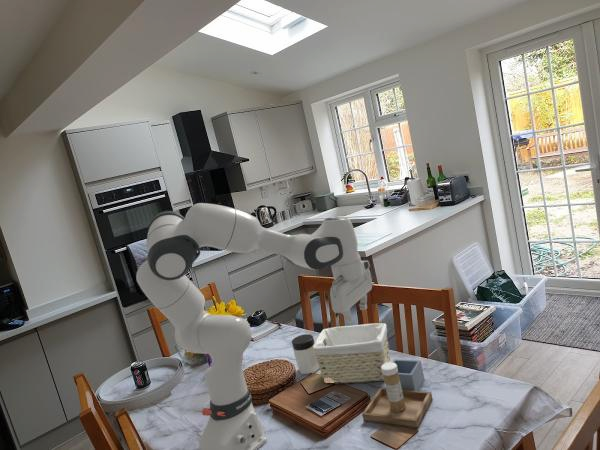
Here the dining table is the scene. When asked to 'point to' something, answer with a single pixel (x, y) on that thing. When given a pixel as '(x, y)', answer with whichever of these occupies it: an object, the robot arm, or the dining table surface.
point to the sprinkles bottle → (393, 386)
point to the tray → (408, 417)
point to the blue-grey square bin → (410, 374)
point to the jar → (305, 354)
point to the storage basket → (353, 352)
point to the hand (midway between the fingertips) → (357, 315)
